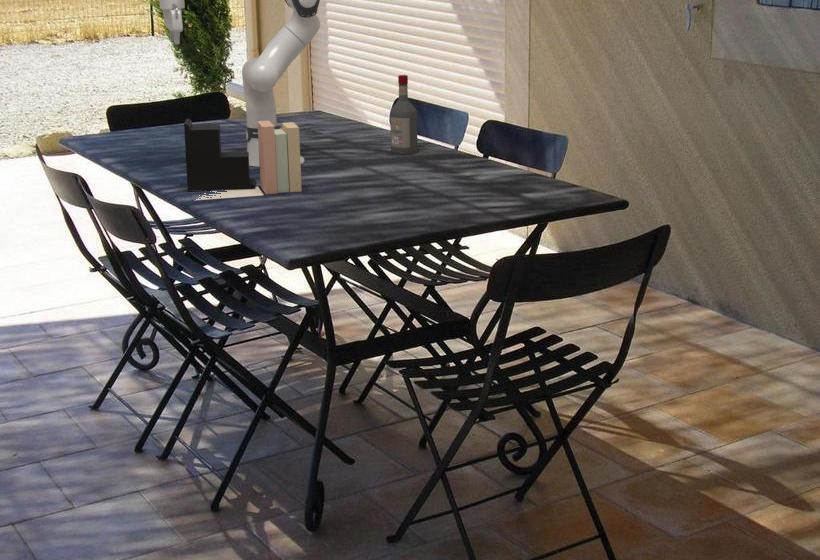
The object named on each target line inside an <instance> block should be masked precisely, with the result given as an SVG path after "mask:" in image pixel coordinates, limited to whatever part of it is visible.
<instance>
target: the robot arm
mask: <svg viewBox="0 0 820 560" xmlns="http://www.w3.org/2000/svg"><path fill="white" fill-rule="evenodd" d="M158 1H159V2H158V3H159V9H160V10H162V15H163V22H164V26H165V28H166V29H168V32H169V39H170V42H174V44H175V45H179V44H180V43H181V42H180V38H181V37H180V36H181V32H183V30H184V26H183V16H182V12H183V11H182V9H185V8H186V7H185V6H186V5H185V3H186V2H185V0H158ZM320 1H321V0H284V2H285V4H286V5H287V6H288V8H289V7H290V8H291V9H292V10H293V11H292V15H291V17H290V19H289V20H288V21H287V22H286V23H285V24H284V25H283V27H282V28H280V30H279V31H278V32H277V33H275V35H274V36H273V37H271V39H270V40H269V42H268V44H267V45H266V47H265V48H264V50H263V51H262V53H260V55H258V57H251V58H250V59H247V61H245V63H243V66H242V68H241V75H242V78H241V79H242V86H243V94H244V101H245V102H244V103H245V109H246V127H245V129H246V130H245V138H246V142H247V147H246V152H249V167H257V168H258V167H259V168H260V165H259V145H258V126H257V121H270V122H271V123H272V124H273V125H274V129H282V126H279V125H277V108H276V107H277V104H276V101H275V94H274V93H275V92H274V88H275V86H276V84H277V83H278V81H279V80H280V79H281V78H282V77H283V75H284V74H285V72H286V71H287V69H288V68H289V66H290V65H291V64H292V63H293V61H294V60H296V58H297V57H298V56H299V55H300V53H302V52H303V50H304V49H305V48H306V47H307V46H308V45H309V44H310V42H311V41H312V40H313V39H314V38H315V36H316V35H317V33H318V32H319V30H320V27H321V22H320V19H319V17H318V15H317V13H318V8H319V5H320ZM304 163H305V158H304V157H303V156H302V155H300V164H301V165H302V164H304Z"/></svg>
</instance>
